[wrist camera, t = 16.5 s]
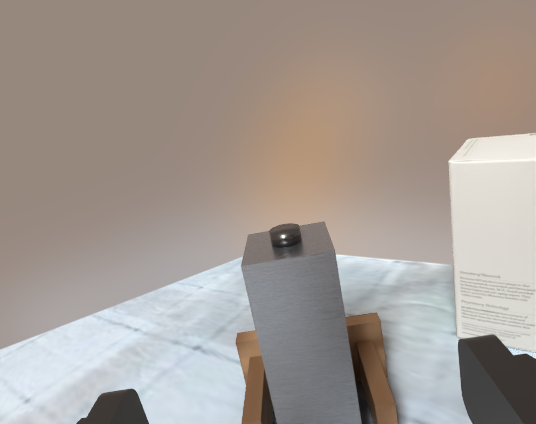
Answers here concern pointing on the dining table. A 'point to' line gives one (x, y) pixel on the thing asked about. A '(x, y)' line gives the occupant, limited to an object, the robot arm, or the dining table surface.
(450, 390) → the dining table surface
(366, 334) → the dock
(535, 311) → the skincare box
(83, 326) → the dining table surface
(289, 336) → the brushed steel pillar
